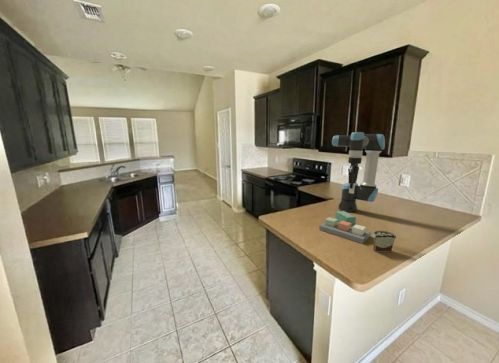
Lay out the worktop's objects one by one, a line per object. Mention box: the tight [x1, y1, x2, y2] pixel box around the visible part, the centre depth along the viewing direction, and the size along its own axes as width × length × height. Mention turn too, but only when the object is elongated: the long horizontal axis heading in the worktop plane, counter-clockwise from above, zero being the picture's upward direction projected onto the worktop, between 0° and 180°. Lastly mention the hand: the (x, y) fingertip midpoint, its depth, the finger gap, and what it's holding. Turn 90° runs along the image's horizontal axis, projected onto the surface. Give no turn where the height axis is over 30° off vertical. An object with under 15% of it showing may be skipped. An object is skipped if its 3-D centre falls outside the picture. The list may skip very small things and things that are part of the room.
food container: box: [372, 230, 397, 253], centre depth 125 cm, size 12×6×10 cm, turn 92°
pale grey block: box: [352, 223, 367, 236], centre depth 138 cm, size 6×6×4 cm
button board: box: [318, 222, 372, 245], centre depth 145 cm, size 14×28×3 cm, turn 45°
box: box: [334, 210, 357, 227], centre depth 161 cm, size 7×14×8 cm, turn 15°
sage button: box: [324, 216, 339, 227], centre depth 151 cm, size 6×6×4 cm
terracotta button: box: [338, 221, 351, 231], centre depth 145 cm, size 6×6×4 cm
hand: (351, 193), depth 144 cm, fingers closed
